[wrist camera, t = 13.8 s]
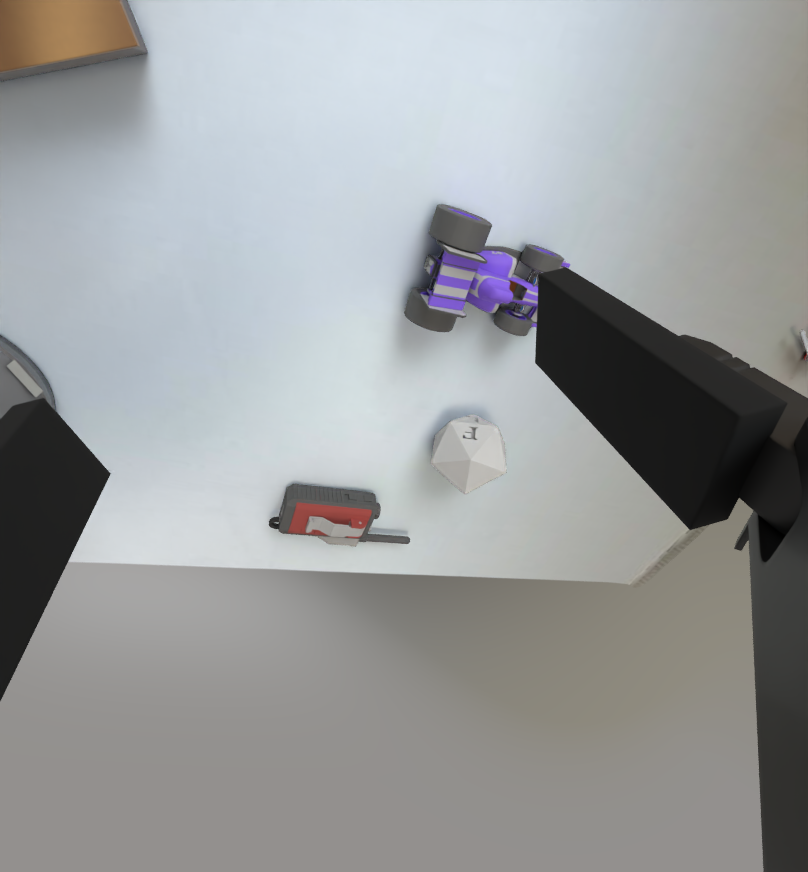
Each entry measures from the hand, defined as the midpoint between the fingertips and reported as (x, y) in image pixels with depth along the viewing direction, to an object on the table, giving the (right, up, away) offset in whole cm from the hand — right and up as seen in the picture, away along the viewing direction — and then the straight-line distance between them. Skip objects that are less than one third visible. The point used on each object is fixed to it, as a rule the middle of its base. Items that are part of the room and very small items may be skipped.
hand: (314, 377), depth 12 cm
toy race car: (+10, +14, +29) cm, 34 cm away
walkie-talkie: (-5, -13, +44) cm, 46 cm away
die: (+9, -1, +41) cm, 42 cm away
